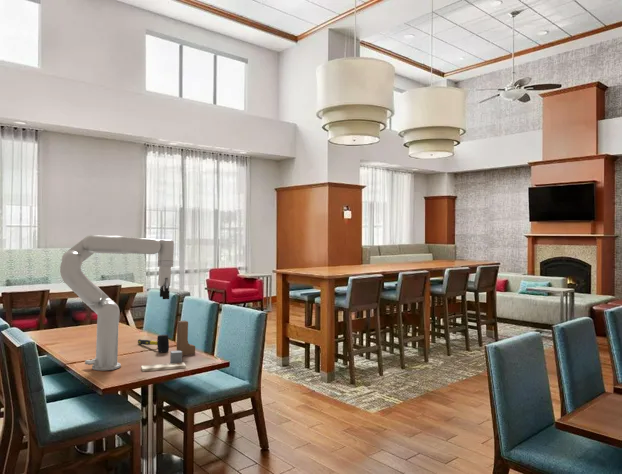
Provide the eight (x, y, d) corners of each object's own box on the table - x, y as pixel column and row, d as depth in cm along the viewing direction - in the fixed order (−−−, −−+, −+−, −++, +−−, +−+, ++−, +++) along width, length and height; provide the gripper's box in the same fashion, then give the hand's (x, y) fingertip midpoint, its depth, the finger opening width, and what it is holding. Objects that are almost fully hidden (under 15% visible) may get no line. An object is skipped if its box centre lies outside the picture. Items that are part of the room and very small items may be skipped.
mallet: (134, 345, 281) (134, 328, 281) (143, 343, 285) (144, 327, 285) (161, 354, 261) (161, 336, 261) (170, 352, 266) (171, 334, 266)
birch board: (142, 371, 226) (142, 368, 226) (141, 368, 231) (141, 365, 231) (186, 367, 234) (186, 365, 234) (183, 364, 240) (183, 362, 240)
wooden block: (192, 352, 266) (193, 319, 266) (195, 354, 262) (196, 320, 263) (176, 354, 261) (177, 320, 261) (179, 356, 257) (180, 322, 257)
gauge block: (171, 365, 239) (171, 353, 239) (170, 363, 242) (170, 351, 243) (181, 364, 241) (182, 352, 241) (180, 362, 245) (180, 350, 245)
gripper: (155, 262, 250) (154, 296, 250) (160, 264, 235) (159, 300, 235) (170, 262, 254) (169, 295, 253) (176, 264, 238) (174, 299, 238)
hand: (164, 297), depth 244 cm, fingers open, 9 cm apart
